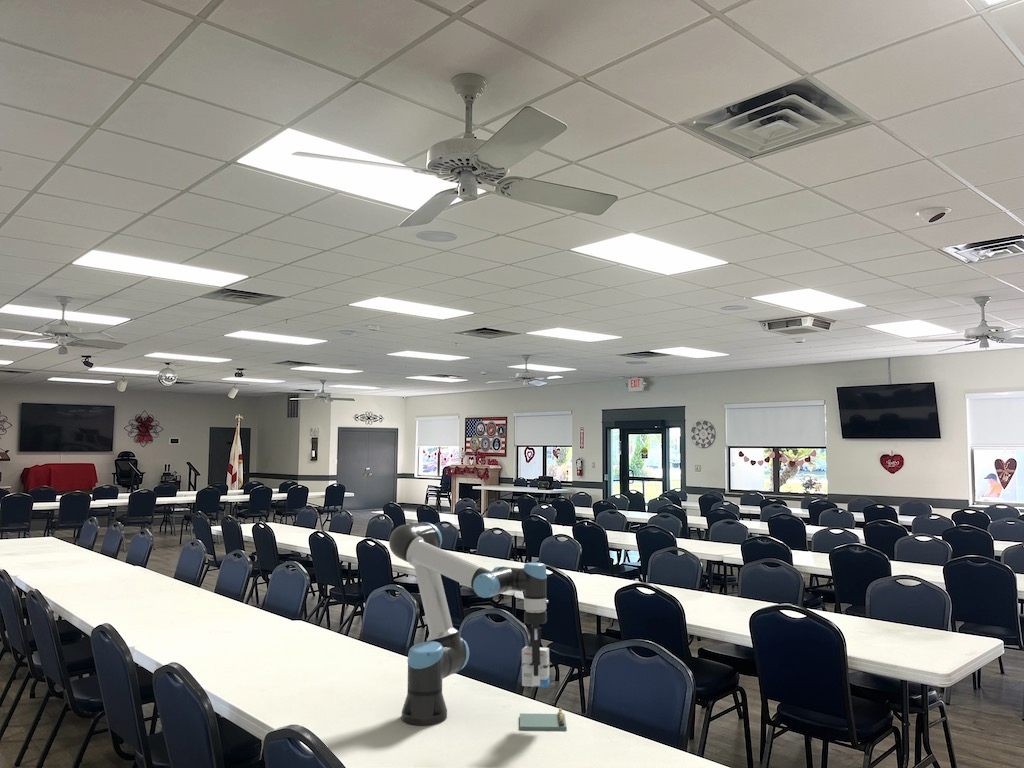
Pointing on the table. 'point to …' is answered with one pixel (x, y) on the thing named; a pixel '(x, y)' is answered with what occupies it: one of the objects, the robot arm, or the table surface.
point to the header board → (543, 721)
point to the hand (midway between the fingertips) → (535, 682)
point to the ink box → (528, 668)
